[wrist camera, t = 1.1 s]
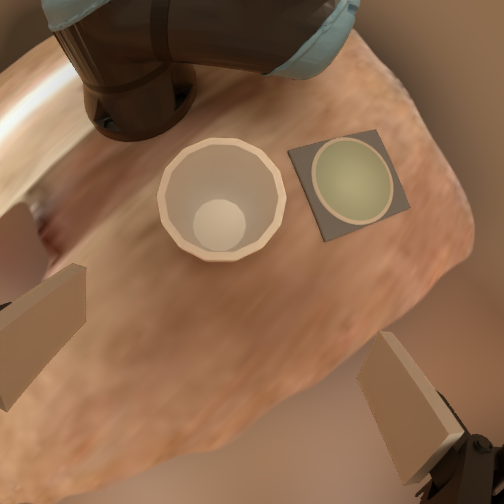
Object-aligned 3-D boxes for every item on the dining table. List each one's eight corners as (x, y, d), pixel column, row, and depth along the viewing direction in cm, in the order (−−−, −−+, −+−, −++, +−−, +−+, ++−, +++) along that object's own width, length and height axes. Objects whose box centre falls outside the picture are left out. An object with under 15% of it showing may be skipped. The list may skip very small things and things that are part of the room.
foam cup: (276, 233, 35) (310, 209, 22) (212, 284, 34) (211, 288, 21) (226, 171, 35) (232, 116, 22) (162, 218, 34) (133, 185, 21)
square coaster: (287, 152, 36) (288, 149, 35) (374, 130, 38) (376, 128, 37) (324, 242, 36) (326, 241, 35) (408, 208, 38) (411, 207, 37)
